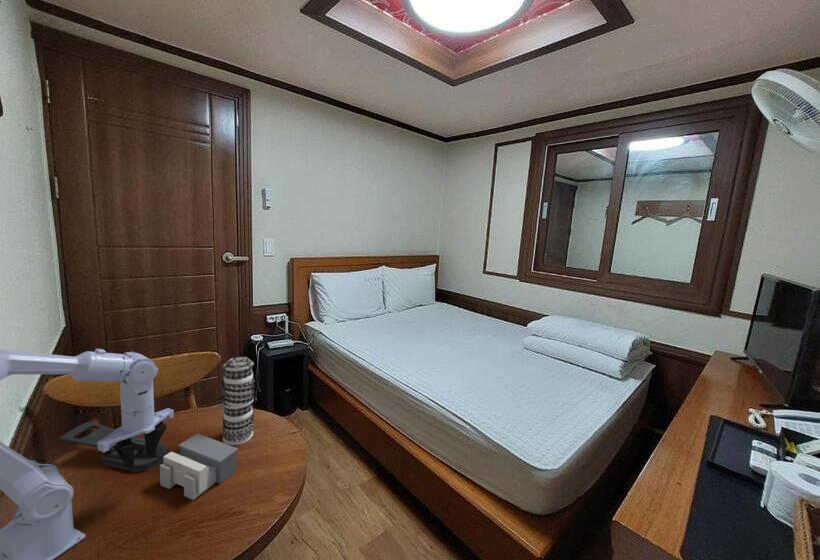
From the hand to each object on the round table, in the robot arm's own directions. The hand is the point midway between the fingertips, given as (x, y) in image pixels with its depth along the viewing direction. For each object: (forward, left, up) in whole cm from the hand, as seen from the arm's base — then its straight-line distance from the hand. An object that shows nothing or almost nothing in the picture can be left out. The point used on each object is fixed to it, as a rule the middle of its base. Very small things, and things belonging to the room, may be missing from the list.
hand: (140, 460), depth 76 cm
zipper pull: (+6, +19, -10) cm, 22 cm away
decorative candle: (+26, -2, -10) cm, 28 cm away
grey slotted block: (+10, -6, -9) cm, 15 cm away
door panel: (+6, -6, -8) cm, 12 cm away
